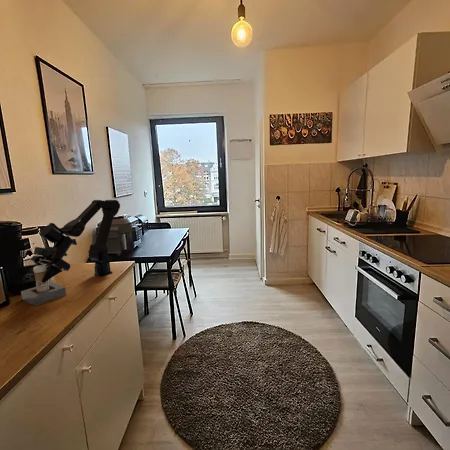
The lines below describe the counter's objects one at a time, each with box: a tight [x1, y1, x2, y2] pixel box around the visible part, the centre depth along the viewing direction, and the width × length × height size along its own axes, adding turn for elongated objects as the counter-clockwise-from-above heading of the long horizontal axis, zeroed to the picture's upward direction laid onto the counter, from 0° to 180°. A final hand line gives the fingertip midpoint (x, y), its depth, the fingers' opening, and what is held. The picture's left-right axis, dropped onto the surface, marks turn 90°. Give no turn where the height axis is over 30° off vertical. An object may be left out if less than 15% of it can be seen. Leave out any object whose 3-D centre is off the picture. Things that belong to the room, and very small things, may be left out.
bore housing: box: [20, 281, 67, 307], centre depth 119 cm, size 12×12×4 cm
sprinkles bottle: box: [32, 265, 50, 294], centre depth 118 cm, size 5×5×13 cm
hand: (38, 281), depth 116 cm, fingers open, 5 cm apart
